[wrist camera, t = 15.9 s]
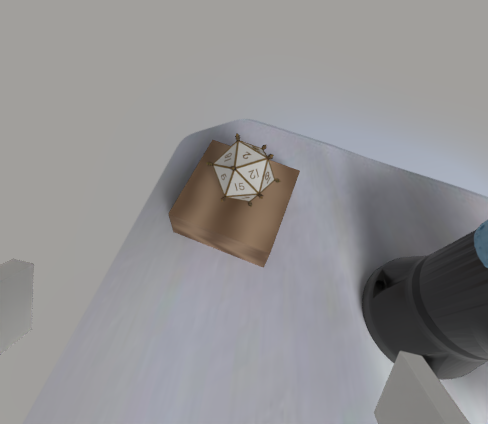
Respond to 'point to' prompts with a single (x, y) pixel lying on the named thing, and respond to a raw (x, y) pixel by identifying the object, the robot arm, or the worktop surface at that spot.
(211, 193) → the walnut block
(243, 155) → the game die
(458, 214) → the worktop surface
